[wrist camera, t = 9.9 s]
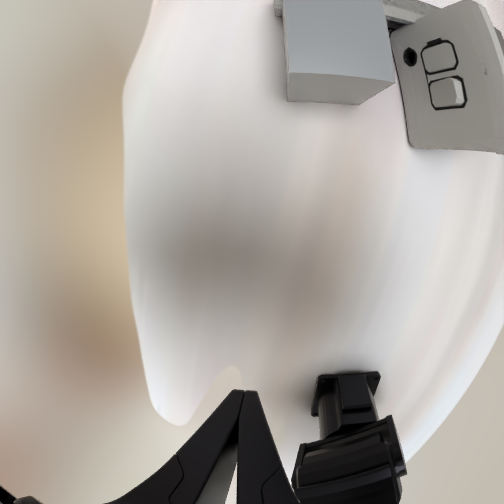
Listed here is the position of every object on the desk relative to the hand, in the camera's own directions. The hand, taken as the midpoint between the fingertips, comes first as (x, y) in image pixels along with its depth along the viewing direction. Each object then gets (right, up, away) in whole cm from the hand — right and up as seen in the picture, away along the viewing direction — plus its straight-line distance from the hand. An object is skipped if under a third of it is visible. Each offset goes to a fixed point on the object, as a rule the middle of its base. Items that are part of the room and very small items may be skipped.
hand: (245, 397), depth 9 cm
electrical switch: (+14, +17, +6) cm, 23 cm away
